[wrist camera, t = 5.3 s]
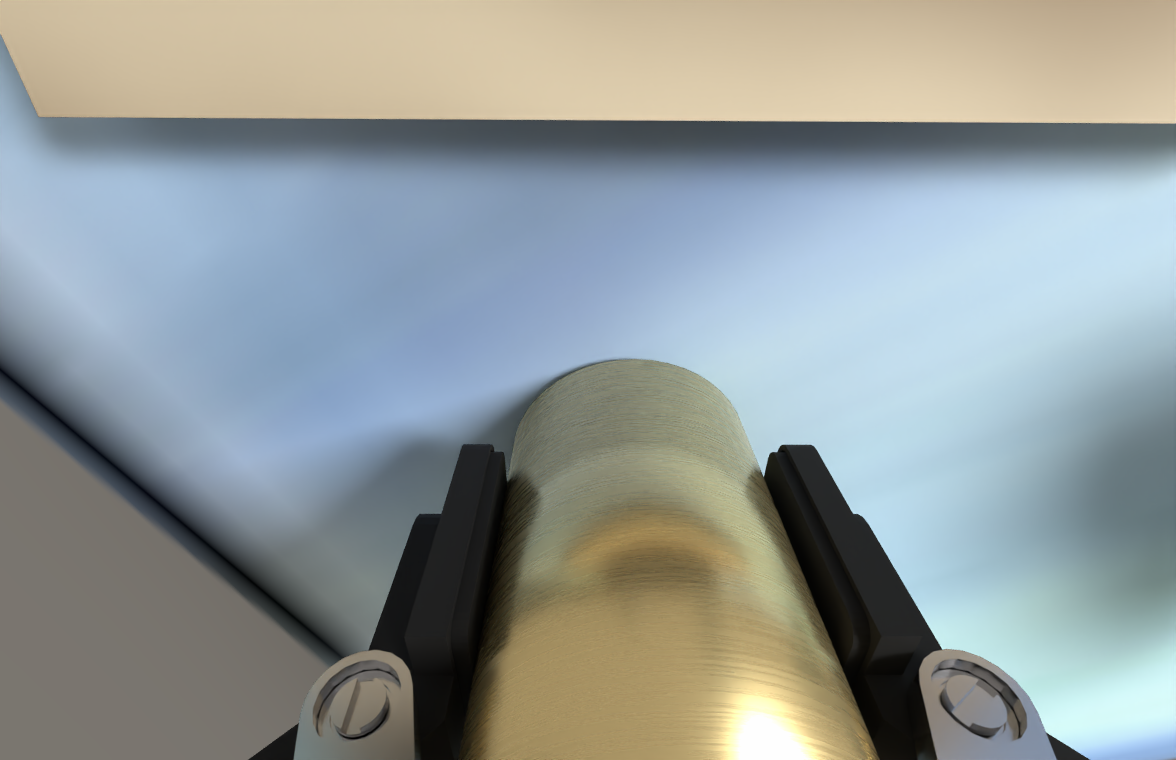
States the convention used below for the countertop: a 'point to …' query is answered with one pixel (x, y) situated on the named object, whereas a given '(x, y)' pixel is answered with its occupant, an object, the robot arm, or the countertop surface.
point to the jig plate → (600, 59)
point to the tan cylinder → (649, 590)
